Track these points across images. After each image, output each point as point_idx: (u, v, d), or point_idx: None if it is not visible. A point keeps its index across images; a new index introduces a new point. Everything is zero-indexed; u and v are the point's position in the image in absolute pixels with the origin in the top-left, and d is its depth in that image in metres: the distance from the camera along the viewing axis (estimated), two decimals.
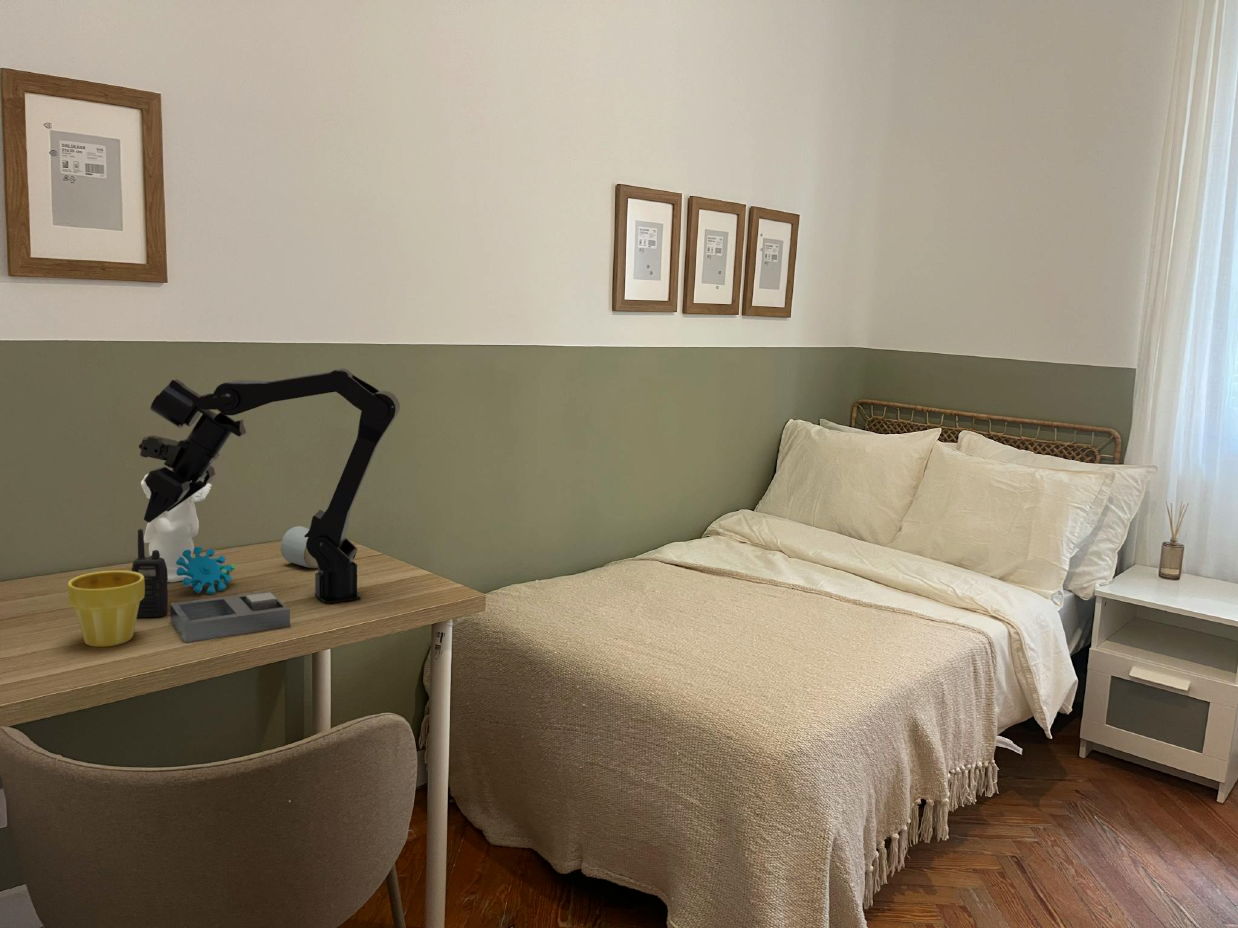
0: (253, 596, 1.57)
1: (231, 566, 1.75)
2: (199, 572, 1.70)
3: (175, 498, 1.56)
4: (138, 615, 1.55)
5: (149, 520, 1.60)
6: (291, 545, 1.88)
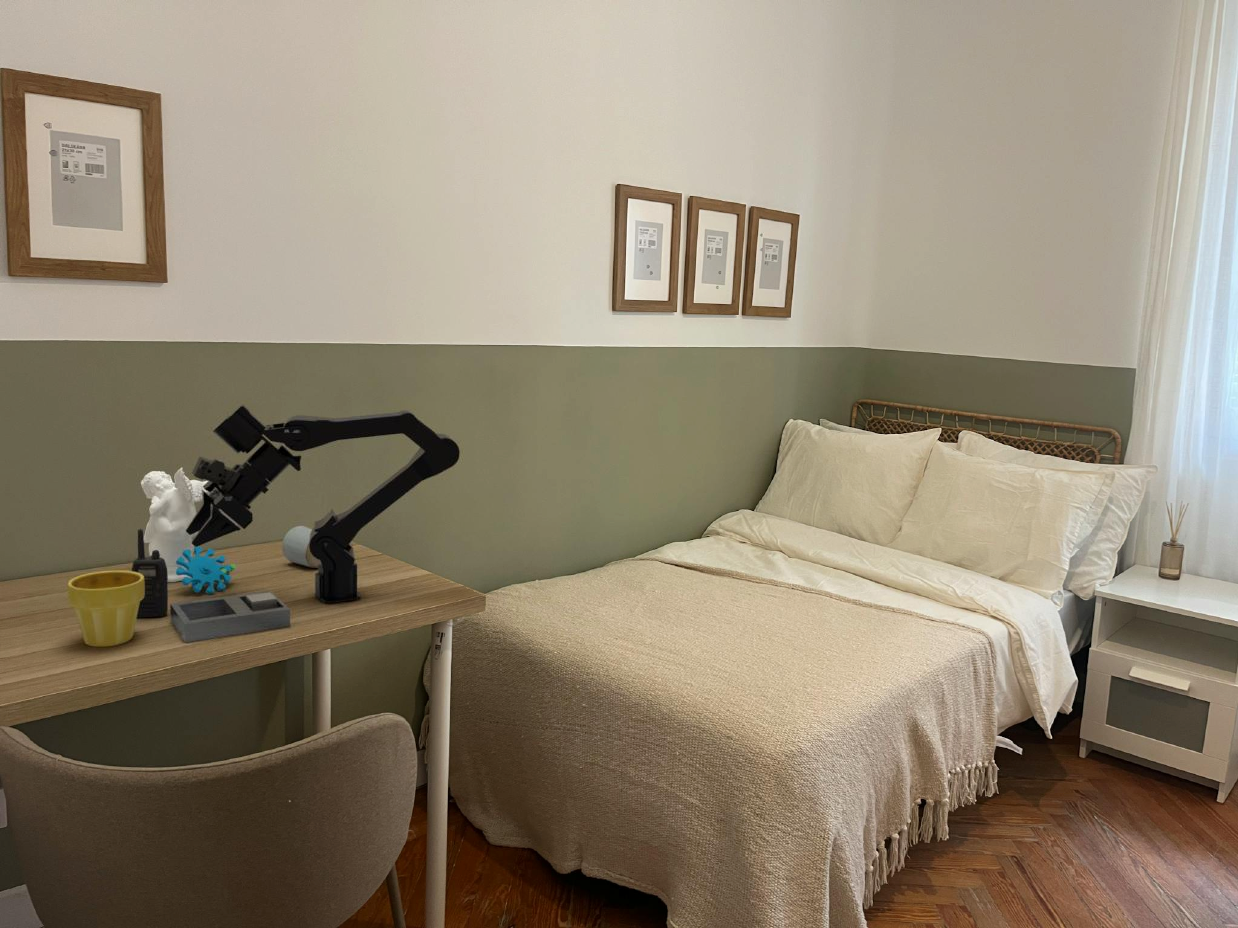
0: (253, 596, 1.57)
1: (231, 566, 1.76)
2: (199, 572, 1.70)
3: (244, 527, 1.54)
4: (138, 615, 1.55)
5: (197, 544, 1.55)
6: (293, 545, 1.88)
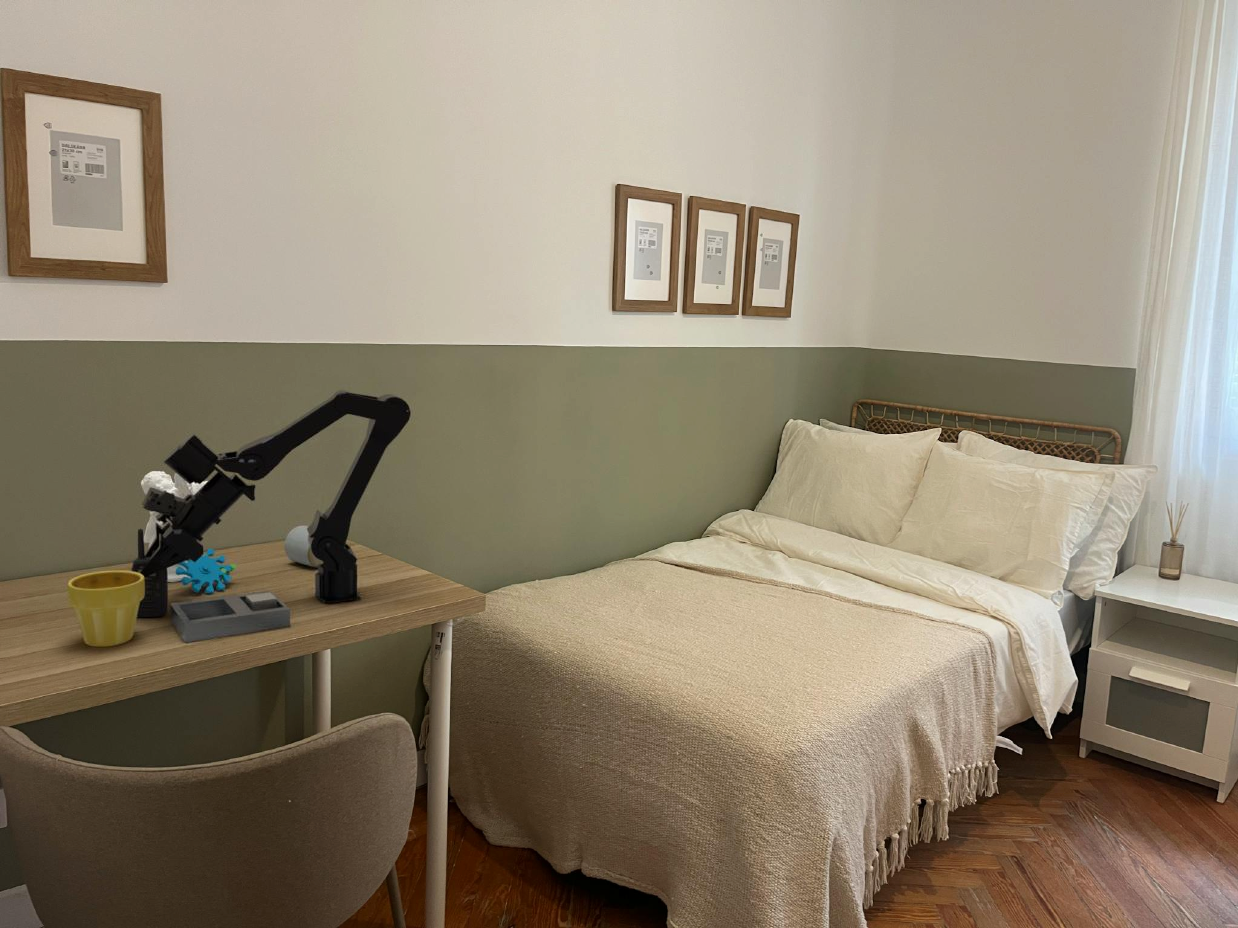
0: (253, 596, 1.57)
1: (231, 566, 1.76)
2: (198, 572, 1.70)
3: (194, 560, 1.51)
4: (138, 615, 1.55)
5: (146, 575, 1.53)
6: (295, 544, 1.89)
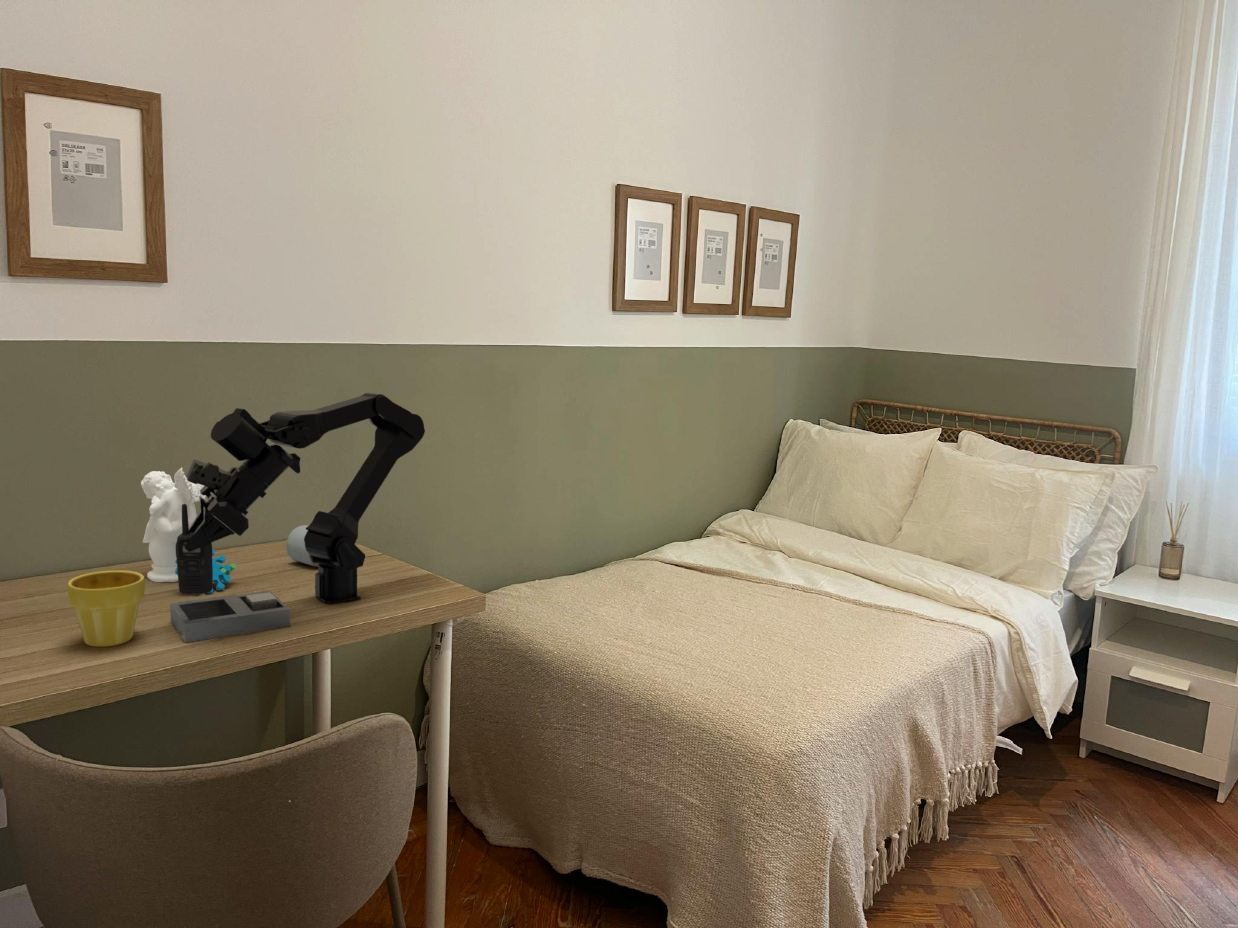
0: (253, 596, 1.57)
1: (231, 566, 1.76)
2: None
3: (239, 534, 1.46)
4: (183, 592, 1.51)
5: (191, 549, 1.49)
6: (297, 544, 1.89)
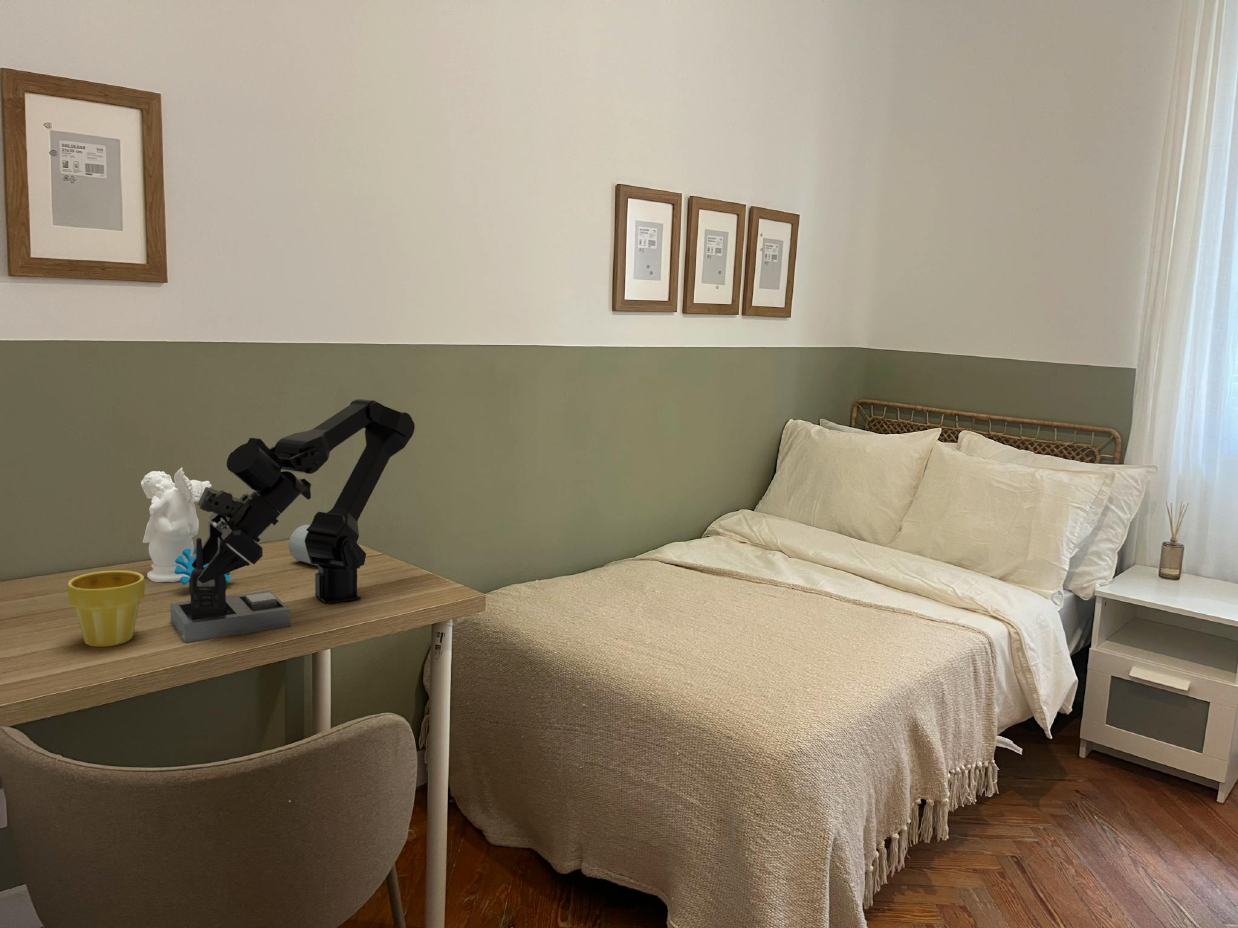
0: (253, 596, 1.57)
1: None
2: None
3: (253, 562, 1.46)
4: None
5: (204, 581, 1.46)
6: (299, 543, 1.90)
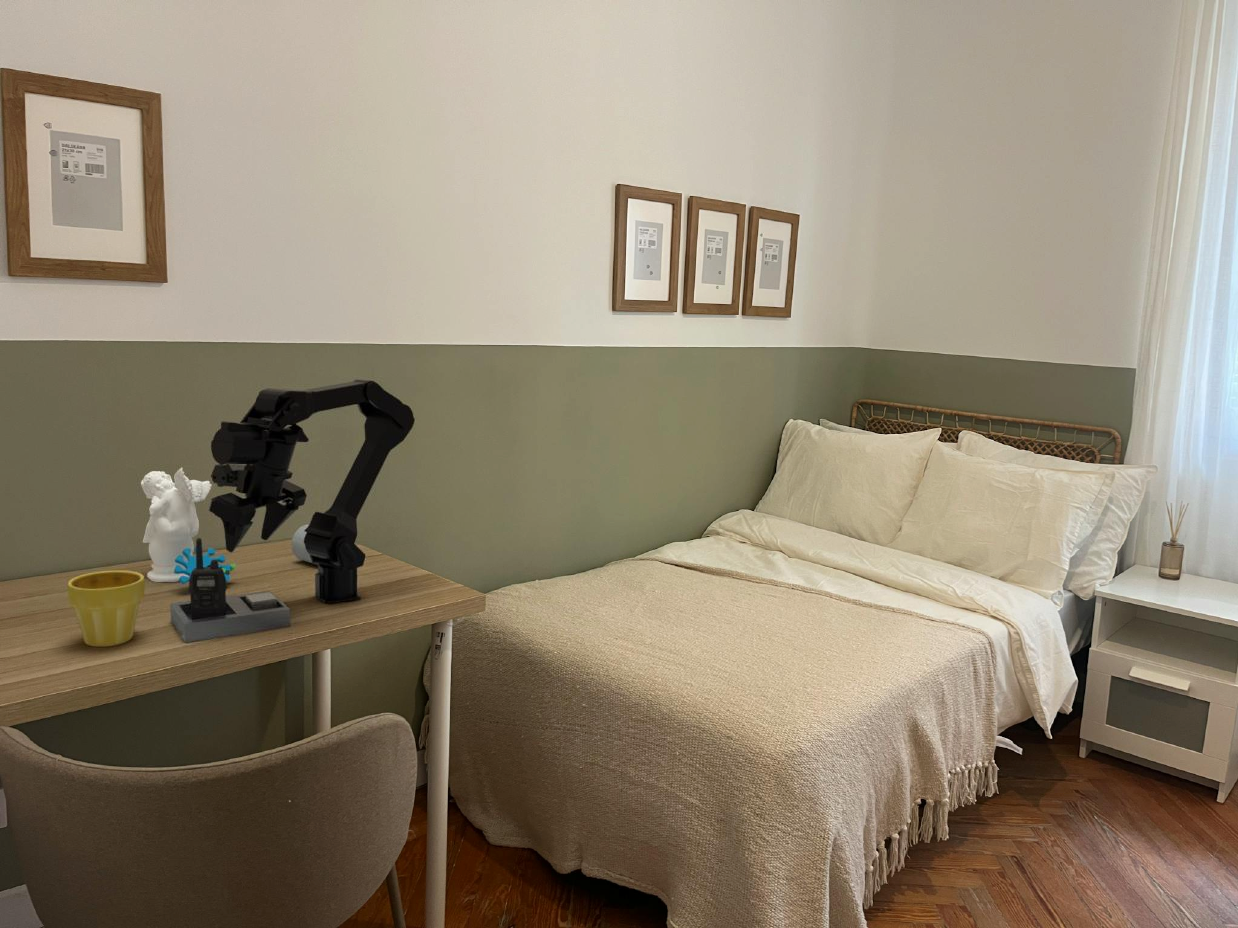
0: (253, 596, 1.57)
1: (231, 566, 1.76)
2: None
3: (236, 522, 1.49)
4: None
5: (230, 550, 1.55)
6: (302, 543, 1.90)
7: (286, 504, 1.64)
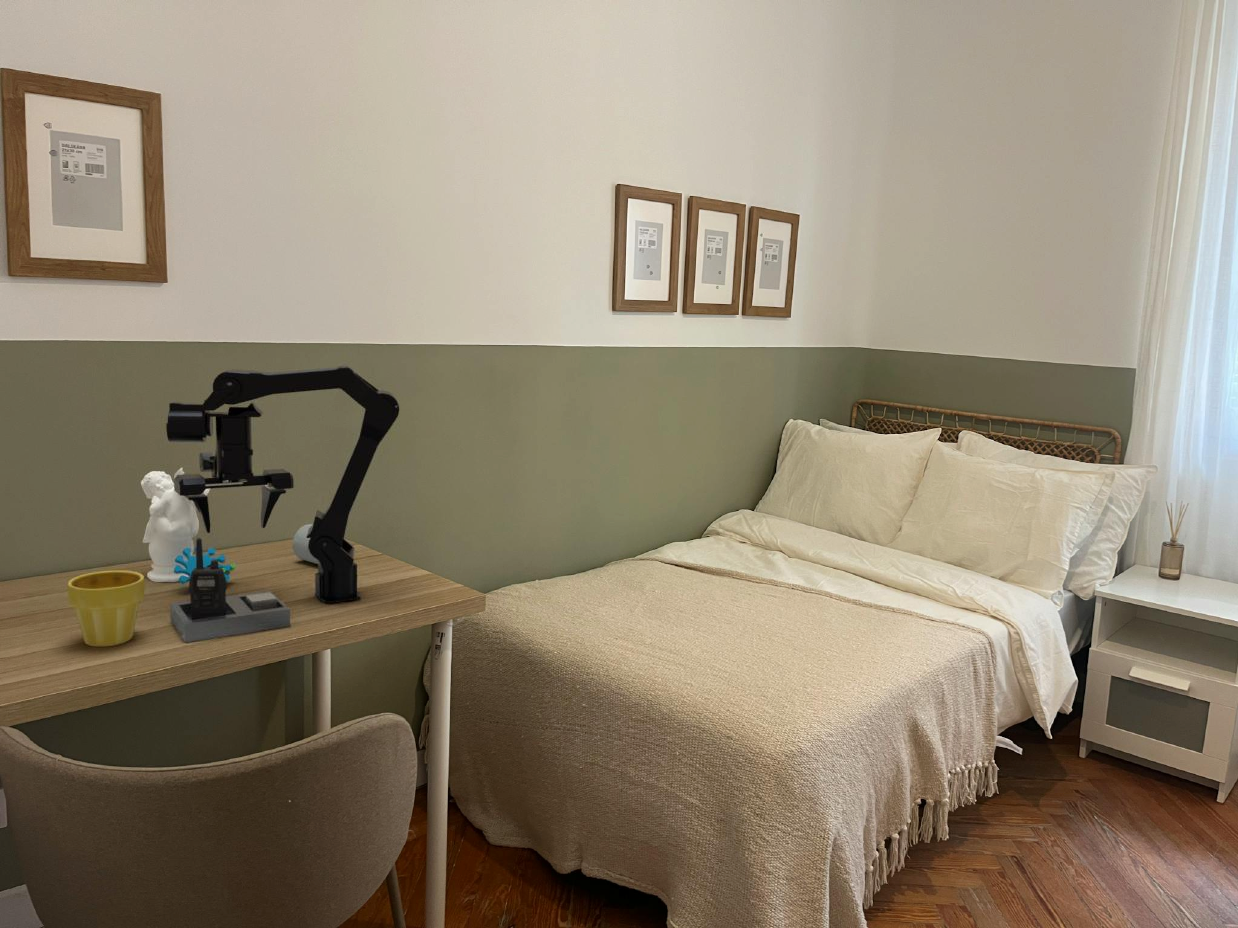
0: (253, 596, 1.57)
1: (231, 566, 1.76)
2: None
3: (181, 494, 1.56)
4: None
5: (206, 530, 1.61)
6: (303, 542, 1.90)
7: (271, 488, 1.65)
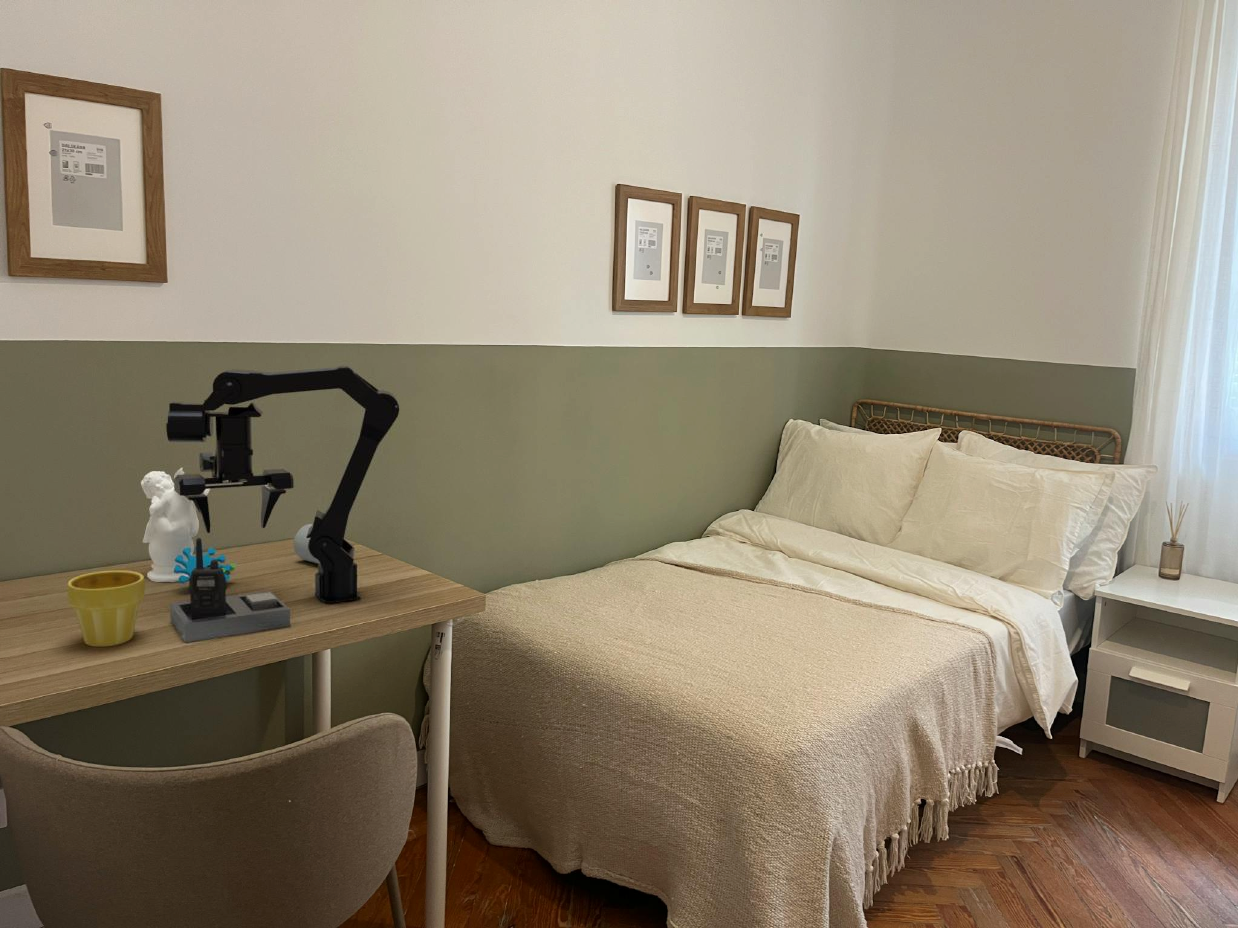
0: (253, 596, 1.57)
1: (231, 566, 1.76)
2: None
3: (181, 494, 1.56)
4: None
5: (206, 530, 1.61)
6: (304, 542, 1.91)
7: (271, 488, 1.65)
